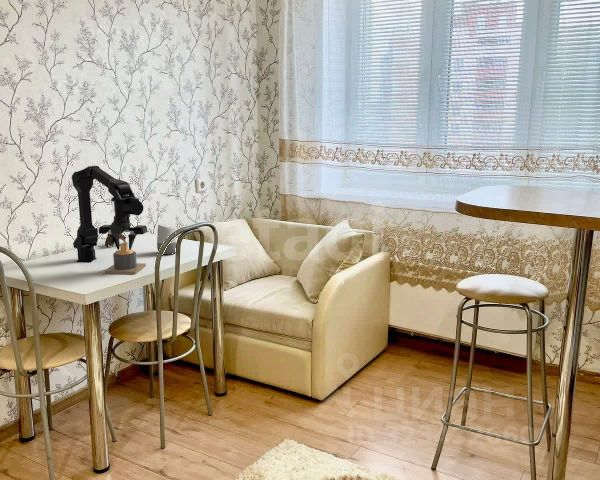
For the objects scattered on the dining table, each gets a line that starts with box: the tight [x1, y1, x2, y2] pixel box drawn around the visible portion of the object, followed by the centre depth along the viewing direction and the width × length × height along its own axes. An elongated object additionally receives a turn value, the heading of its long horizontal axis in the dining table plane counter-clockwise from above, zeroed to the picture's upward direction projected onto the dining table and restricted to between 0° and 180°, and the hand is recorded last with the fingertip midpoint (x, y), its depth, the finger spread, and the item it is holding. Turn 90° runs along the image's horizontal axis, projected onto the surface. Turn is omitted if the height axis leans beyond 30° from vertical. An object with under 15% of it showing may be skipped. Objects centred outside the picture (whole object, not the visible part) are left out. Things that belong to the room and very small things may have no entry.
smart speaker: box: [156, 223, 178, 255], centre depth 276 cm, size 10×9×14 cm
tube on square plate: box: [103, 250, 147, 275], centre depth 248 cm, size 13×13×7 cm
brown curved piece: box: [104, 233, 127, 248], centre depth 292 cm, size 12×9×8 cm
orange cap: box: [114, 241, 134, 255], centre depth 247 cm, size 7×7×6 cm
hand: (124, 249), depth 247 cm, fingers open, 5 cm apart
